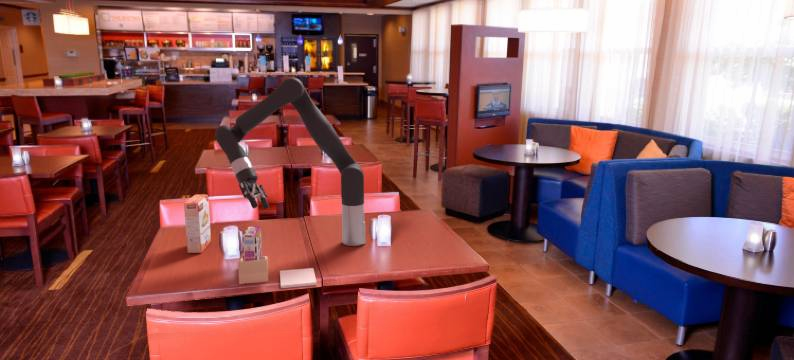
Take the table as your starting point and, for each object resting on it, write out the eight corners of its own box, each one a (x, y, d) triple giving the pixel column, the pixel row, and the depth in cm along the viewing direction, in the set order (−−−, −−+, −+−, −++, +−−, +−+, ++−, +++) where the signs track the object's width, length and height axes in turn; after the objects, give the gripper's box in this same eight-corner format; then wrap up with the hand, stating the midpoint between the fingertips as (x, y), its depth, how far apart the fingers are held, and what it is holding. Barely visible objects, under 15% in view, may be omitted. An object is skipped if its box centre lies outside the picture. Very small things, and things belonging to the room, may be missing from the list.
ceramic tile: (313, 270, 196) (313, 268, 195) (316, 285, 183) (316, 282, 183) (279, 273, 193) (279, 270, 193) (280, 288, 181) (280, 285, 180)
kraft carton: (267, 261, 204) (266, 241, 202) (268, 281, 186) (266, 259, 184) (241, 263, 202) (240, 243, 200) (239, 284, 184) (237, 262, 182)
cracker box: (202, 253, 212) (198, 202, 207) (187, 254, 211) (182, 203, 207) (212, 241, 225) (208, 193, 221) (197, 242, 225) (193, 193, 220)
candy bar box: (258, 280, 187) (256, 235, 183) (244, 280, 187) (241, 236, 183) (263, 268, 198) (261, 225, 194) (249, 268, 197) (247, 226, 194)
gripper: (242, 164, 200) (260, 202, 196) (261, 168, 213) (278, 204, 210) (226, 174, 201) (243, 212, 197) (246, 178, 215) (262, 213, 211)
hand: (261, 208), depth 204 cm, fingers open, 8 cm apart
